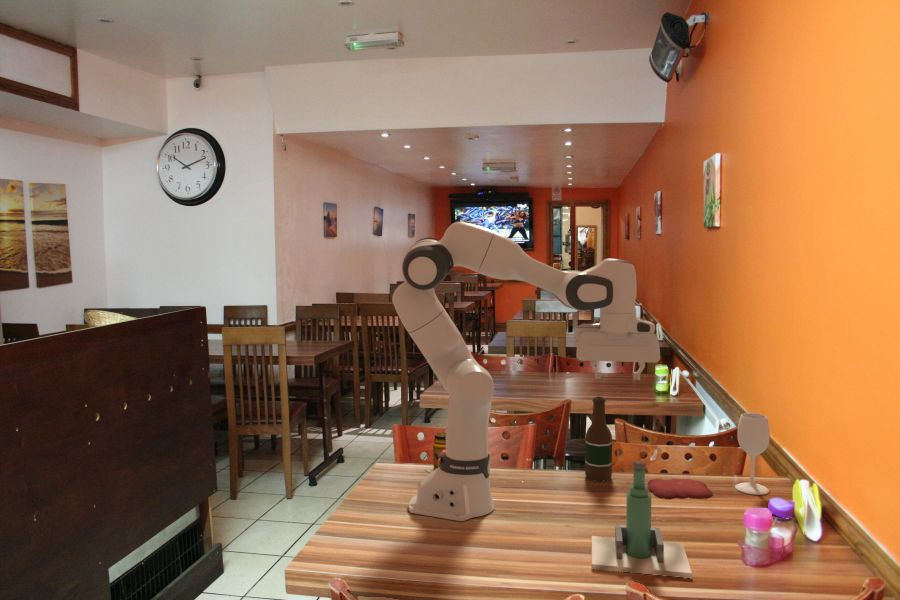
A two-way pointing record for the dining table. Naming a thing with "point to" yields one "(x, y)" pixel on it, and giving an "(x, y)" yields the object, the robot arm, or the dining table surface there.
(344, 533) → the dining table surface
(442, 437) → the condiment
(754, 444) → the wineglass
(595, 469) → the beer bottle
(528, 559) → the dining table surface
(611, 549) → the bottle stand
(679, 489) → the patty
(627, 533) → the bottle
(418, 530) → the dining table surface
